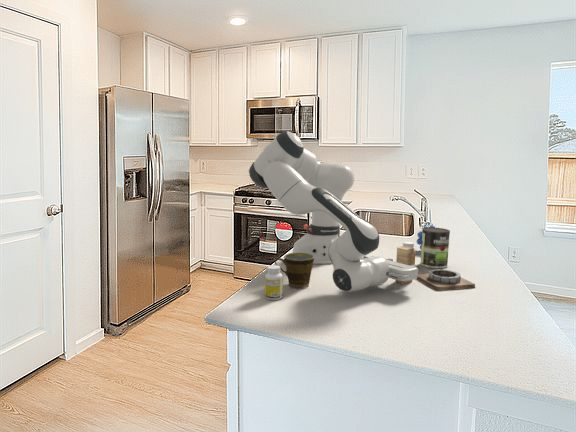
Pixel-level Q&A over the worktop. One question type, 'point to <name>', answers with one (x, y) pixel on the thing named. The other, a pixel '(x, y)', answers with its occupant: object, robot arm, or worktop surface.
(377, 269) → the robot arm
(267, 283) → the supplement bottle
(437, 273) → the grey stone ring
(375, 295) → the worktop surface
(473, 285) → the walnut board
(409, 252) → the oak post
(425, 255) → the coffee can
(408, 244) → the supplement bottle
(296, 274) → the ceramic cup
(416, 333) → the worktop surface
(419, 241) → the grapes
